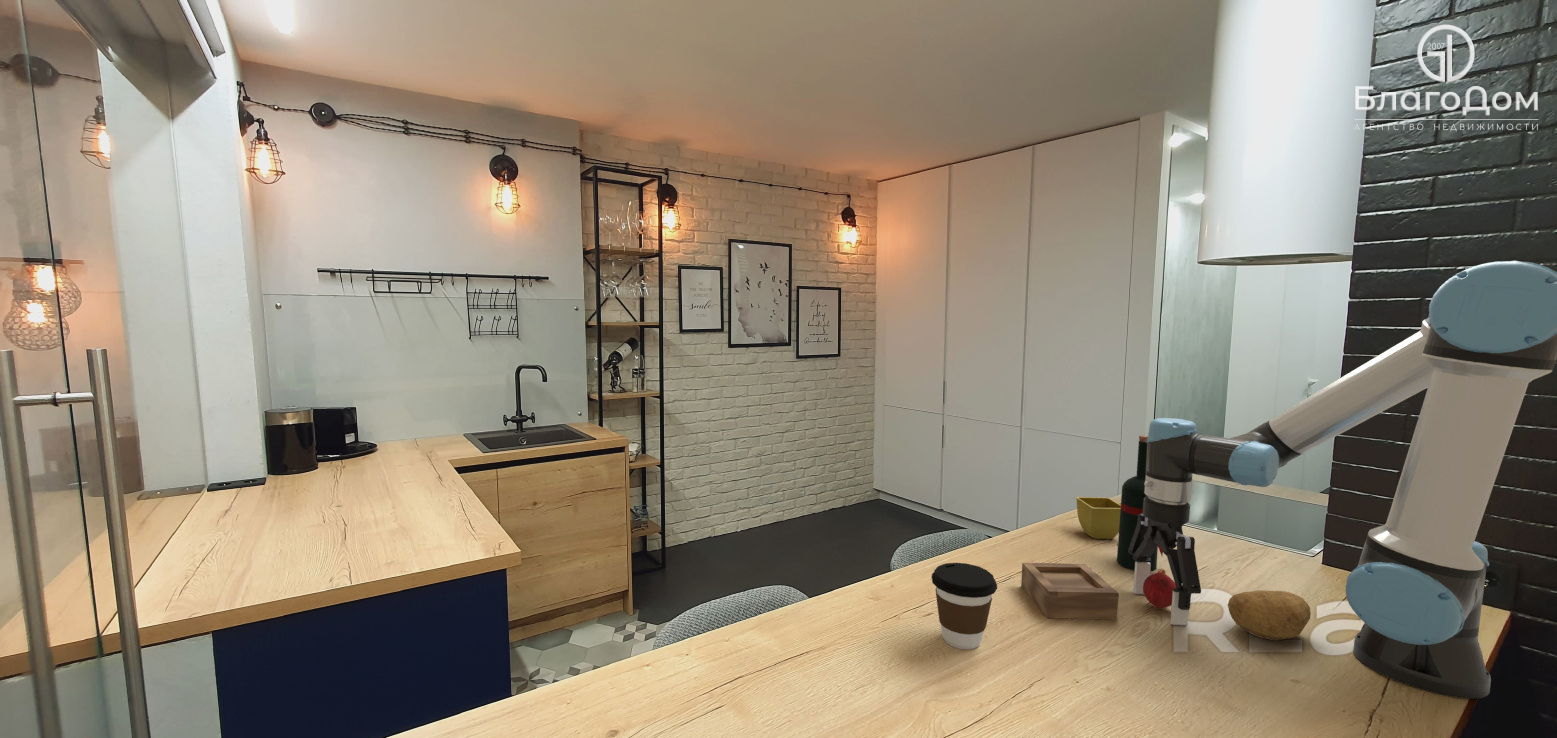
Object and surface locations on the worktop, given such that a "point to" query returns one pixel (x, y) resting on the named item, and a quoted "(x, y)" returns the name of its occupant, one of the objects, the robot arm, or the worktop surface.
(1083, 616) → the walnut tray
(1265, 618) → the potato
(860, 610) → the worktop surface
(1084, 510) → the flower pot
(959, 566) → the coffee cup
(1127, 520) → the wine bottle
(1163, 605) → the pomegranate
